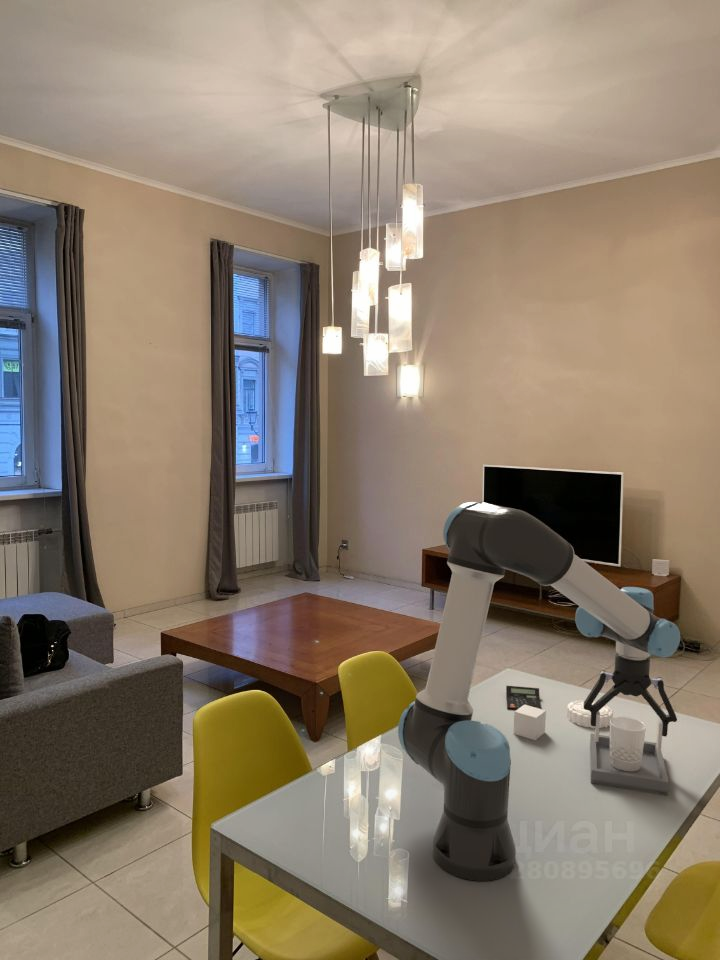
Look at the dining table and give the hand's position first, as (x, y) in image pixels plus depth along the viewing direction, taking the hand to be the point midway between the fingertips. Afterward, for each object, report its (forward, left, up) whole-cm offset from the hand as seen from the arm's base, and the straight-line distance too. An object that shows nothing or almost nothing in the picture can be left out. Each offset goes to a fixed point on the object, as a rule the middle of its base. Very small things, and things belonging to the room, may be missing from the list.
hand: (627, 744), depth 169 cm
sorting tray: (0, 0, -6) cm, 6 cm away
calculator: (+32, +26, -7) cm, 42 cm away
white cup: (0, 0, -5) cm, 5 cm away
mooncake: (+27, +8, -6) cm, 29 cm away
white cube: (+12, +23, -6) cm, 27 cm away
